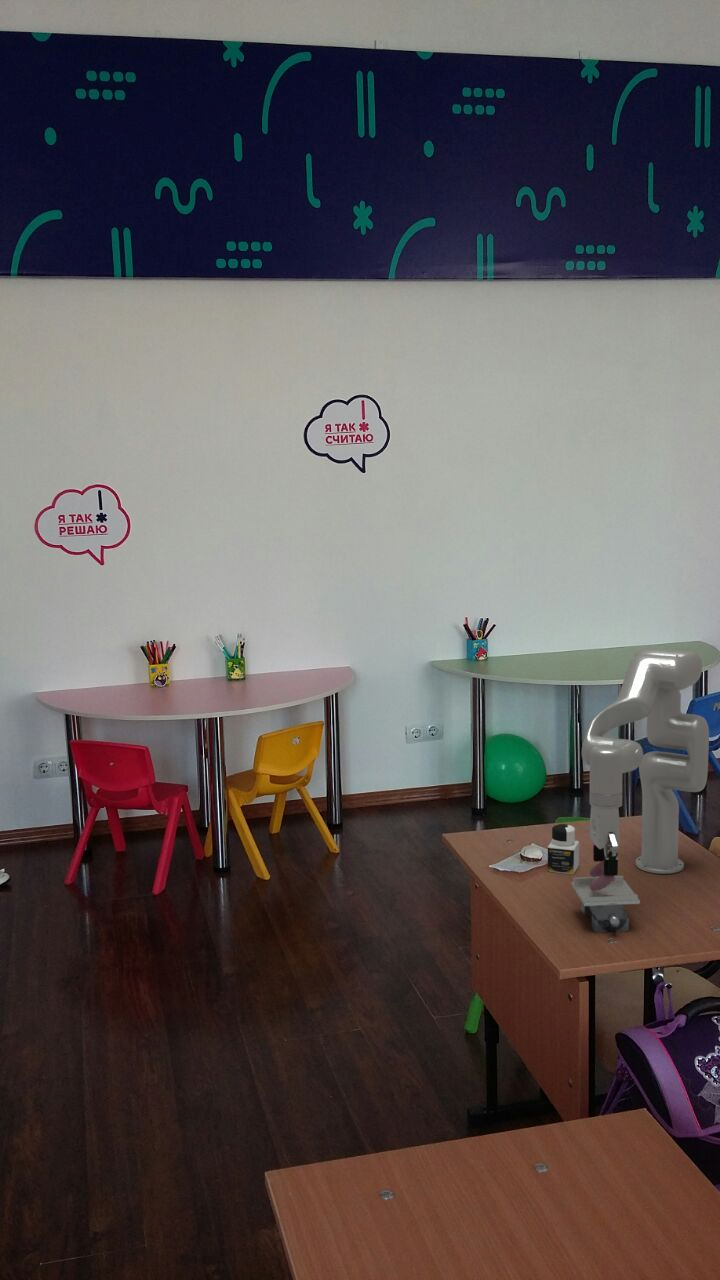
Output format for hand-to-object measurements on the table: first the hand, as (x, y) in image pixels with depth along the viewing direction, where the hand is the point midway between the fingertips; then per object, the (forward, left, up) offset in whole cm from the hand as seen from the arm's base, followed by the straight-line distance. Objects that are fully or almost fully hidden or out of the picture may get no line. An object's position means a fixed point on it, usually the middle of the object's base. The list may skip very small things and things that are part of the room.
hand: (605, 867), depth 263 cm
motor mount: (+2, 0, -13) cm, 13 cm away
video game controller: (0, -1, -4) cm, 4 cm away
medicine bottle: (-35, -2, -13) cm, 37 cm away
